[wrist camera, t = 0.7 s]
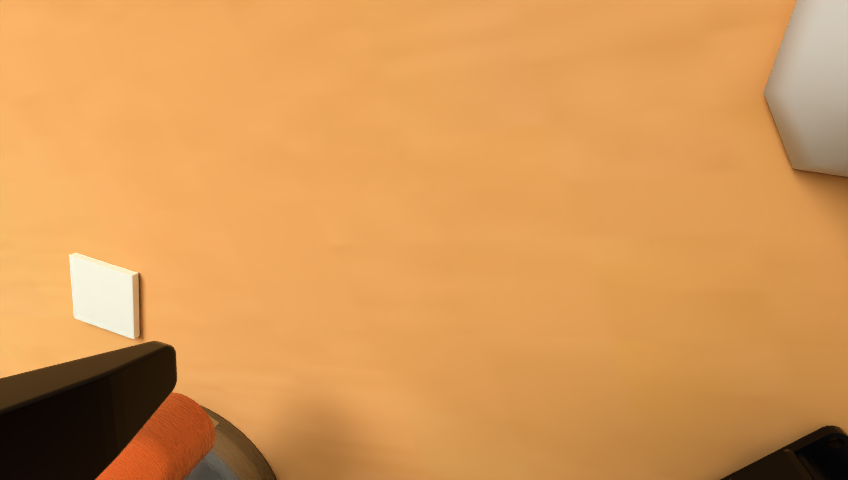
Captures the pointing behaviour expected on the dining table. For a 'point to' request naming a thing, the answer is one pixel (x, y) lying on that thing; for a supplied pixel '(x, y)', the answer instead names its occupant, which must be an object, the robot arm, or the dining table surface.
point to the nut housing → (231, 457)
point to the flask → (813, 87)
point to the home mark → (105, 295)
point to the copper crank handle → (166, 443)
